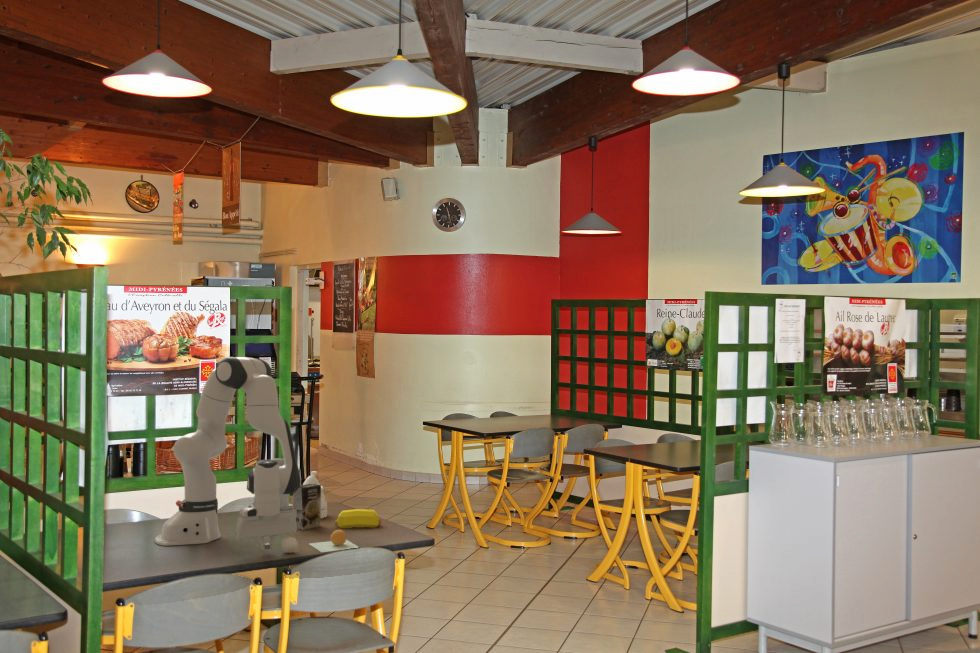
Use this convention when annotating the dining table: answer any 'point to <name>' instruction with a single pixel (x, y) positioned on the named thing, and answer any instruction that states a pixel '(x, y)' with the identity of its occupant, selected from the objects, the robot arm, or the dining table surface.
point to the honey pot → (313, 480)
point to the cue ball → (289, 544)
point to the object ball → (338, 537)
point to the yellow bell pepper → (358, 518)
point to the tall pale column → (283, 497)
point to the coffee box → (307, 506)
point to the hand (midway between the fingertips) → (266, 549)
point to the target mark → (332, 546)
